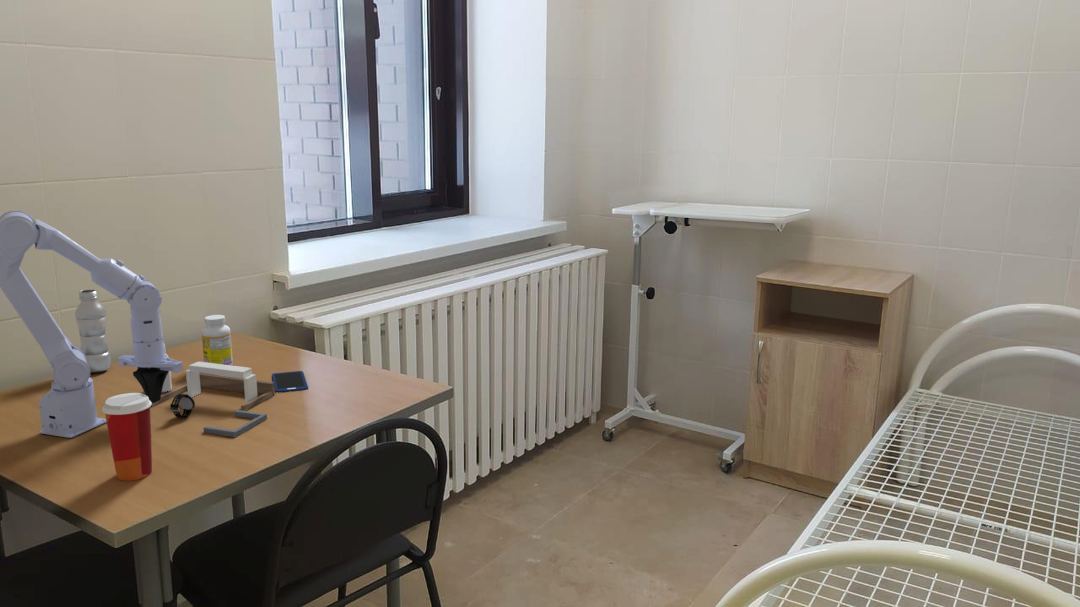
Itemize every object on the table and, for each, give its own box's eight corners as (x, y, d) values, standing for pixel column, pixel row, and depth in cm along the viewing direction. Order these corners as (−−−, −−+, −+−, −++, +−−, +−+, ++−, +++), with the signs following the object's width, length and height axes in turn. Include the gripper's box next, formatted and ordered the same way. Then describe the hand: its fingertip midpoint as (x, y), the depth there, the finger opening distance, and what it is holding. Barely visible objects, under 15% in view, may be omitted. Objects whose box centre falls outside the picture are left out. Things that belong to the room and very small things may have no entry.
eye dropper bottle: (177, 384, 191) (172, 335, 188) (169, 392, 185) (164, 342, 182) (157, 385, 190) (152, 335, 187) (149, 393, 185) (144, 342, 182)
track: (212, 428, 165) (211, 414, 165) (128, 415, 171) (127, 402, 171) (274, 395, 185) (273, 382, 184) (197, 384, 191) (196, 372, 190)
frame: (235, 437, 161) (234, 432, 161) (203, 432, 163) (203, 427, 163) (267, 418, 171) (266, 414, 171) (237, 414, 173) (236, 409, 173)
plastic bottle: (82, 369, 201) (72, 289, 196) (113, 366, 203) (104, 287, 199) (80, 377, 195) (70, 295, 190) (111, 373, 198) (102, 292, 193)
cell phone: (275, 394, 186) (275, 391, 186) (271, 376, 199) (271, 373, 199) (308, 391, 189) (308, 388, 189) (302, 373, 202) (302, 370, 201)
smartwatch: (198, 416, 172) (196, 393, 171) (176, 423, 168) (173, 400, 167) (187, 411, 174) (185, 389, 173) (164, 418, 170) (162, 396, 169)
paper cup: (145, 461, 150) (138, 388, 147) (166, 473, 145) (159, 398, 142) (101, 475, 144) (92, 400, 141) (121, 488, 139) (112, 410, 136)
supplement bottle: (205, 363, 206) (201, 314, 203) (233, 361, 208) (230, 312, 205) (203, 371, 200) (199, 321, 197) (232, 369, 202) (228, 319, 199)
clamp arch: (249, 405, 178) (247, 372, 176) (188, 397, 183) (185, 364, 181) (257, 401, 181) (255, 368, 179) (197, 392, 185) (194, 360, 184)
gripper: (190, 337, 171) (196, 398, 174) (134, 331, 175) (140, 391, 178) (166, 346, 164) (172, 410, 167) (108, 339, 168) (115, 401, 172)
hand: (154, 401), depth 172 cm, fingers closed
